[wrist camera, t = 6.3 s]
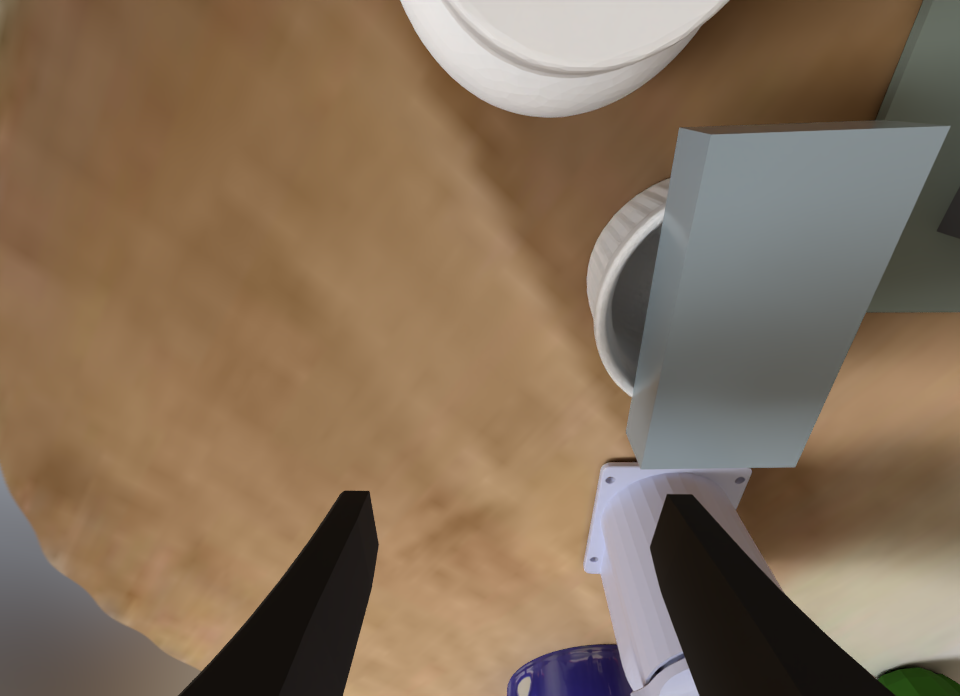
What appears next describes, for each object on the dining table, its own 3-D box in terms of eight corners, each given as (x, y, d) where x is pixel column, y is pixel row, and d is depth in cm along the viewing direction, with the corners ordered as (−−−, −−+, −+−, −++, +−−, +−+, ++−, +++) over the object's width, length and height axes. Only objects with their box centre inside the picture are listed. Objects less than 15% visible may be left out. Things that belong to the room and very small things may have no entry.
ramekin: (576, 164, 17) (603, 188, 13) (820, 144, 16) (920, 161, 13) (571, 363, 21) (590, 422, 17) (761, 350, 21) (822, 408, 17)
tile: (765, 429, 18) (795, 467, 16) (625, 432, 18) (640, 469, 16) (884, 119, 12) (950, 125, 10) (679, 127, 12) (711, 134, 10)
